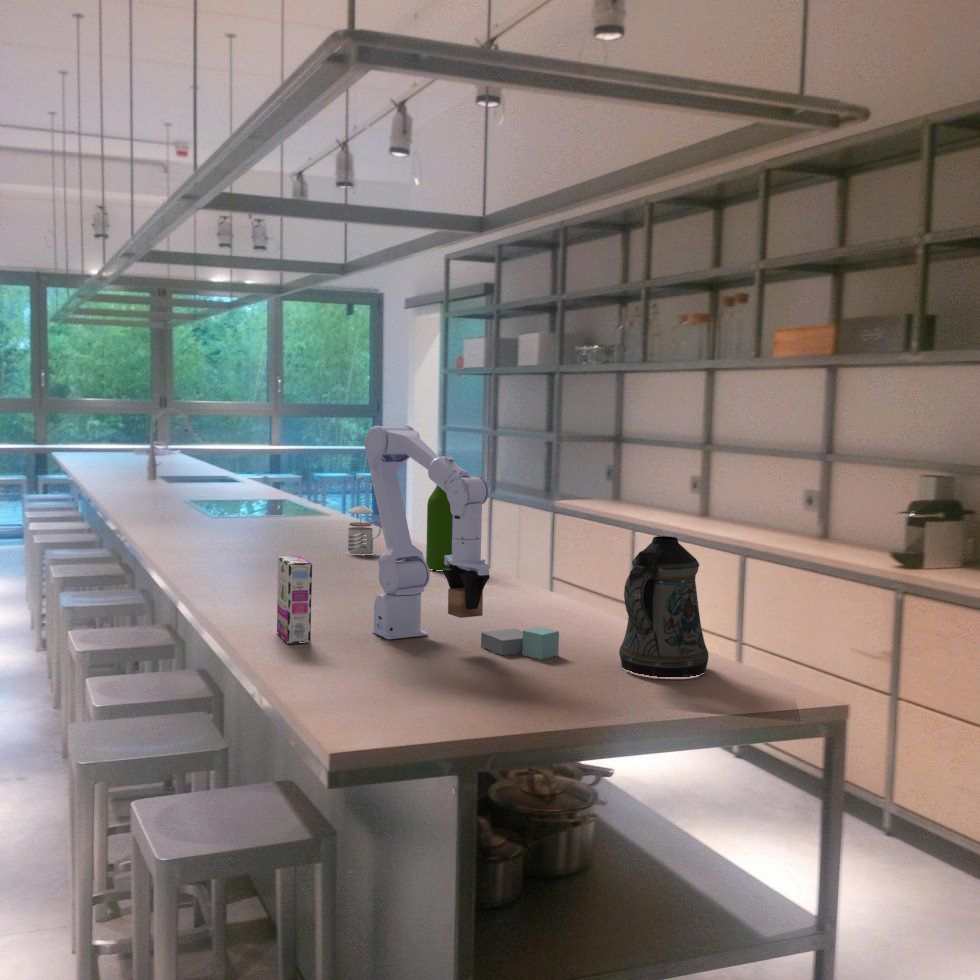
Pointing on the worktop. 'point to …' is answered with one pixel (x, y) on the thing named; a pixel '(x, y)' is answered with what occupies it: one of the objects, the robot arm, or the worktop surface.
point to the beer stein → (663, 613)
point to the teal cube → (540, 643)
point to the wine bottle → (438, 529)
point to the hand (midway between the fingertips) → (465, 606)
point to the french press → (361, 531)
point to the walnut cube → (462, 604)
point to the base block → (503, 641)
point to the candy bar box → (294, 599)
